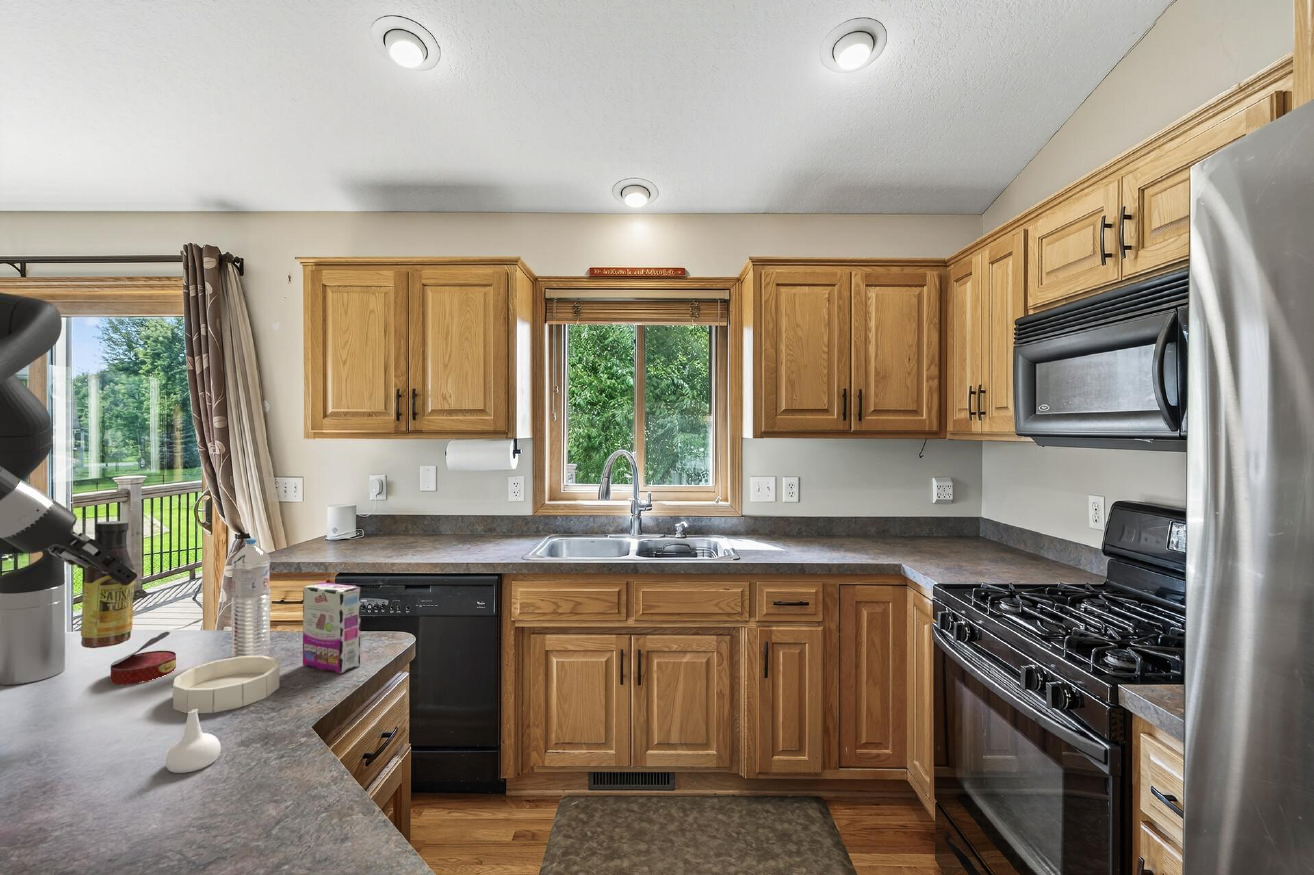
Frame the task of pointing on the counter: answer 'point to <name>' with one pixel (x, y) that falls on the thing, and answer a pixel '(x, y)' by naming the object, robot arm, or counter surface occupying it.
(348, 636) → the candy bar box
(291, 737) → the counter surface
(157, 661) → the canned food
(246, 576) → the water bottle
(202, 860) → the counter surface
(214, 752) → the garlic bulb
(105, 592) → the sauce bottle
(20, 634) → the robot arm
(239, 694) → the bowl
